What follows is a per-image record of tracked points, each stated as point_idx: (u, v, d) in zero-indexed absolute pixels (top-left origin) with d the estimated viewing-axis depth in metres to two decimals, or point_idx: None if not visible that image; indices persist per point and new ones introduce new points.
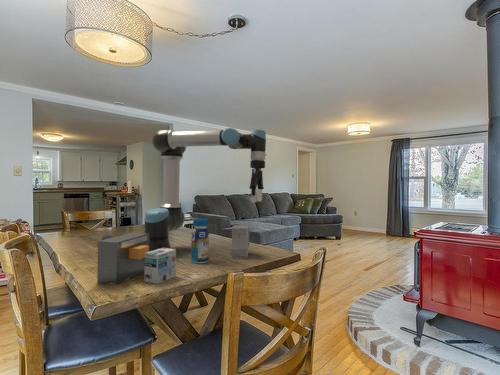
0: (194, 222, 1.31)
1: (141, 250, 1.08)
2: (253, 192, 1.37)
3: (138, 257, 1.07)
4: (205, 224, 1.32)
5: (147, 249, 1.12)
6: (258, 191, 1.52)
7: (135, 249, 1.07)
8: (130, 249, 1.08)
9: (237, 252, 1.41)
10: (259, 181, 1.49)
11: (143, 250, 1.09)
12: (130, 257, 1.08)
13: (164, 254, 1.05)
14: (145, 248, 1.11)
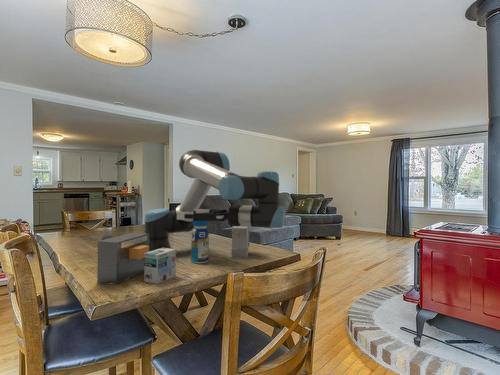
0: (194, 222, 1.31)
1: (141, 250, 1.08)
2: (188, 217, 0.97)
3: (138, 257, 1.07)
4: (205, 224, 1.32)
5: (147, 249, 1.12)
6: (205, 211, 1.11)
7: (135, 249, 1.07)
8: (130, 249, 1.08)
9: (237, 252, 1.41)
10: None
11: (143, 250, 1.09)
12: (130, 257, 1.08)
13: (164, 254, 1.05)
14: (145, 248, 1.11)
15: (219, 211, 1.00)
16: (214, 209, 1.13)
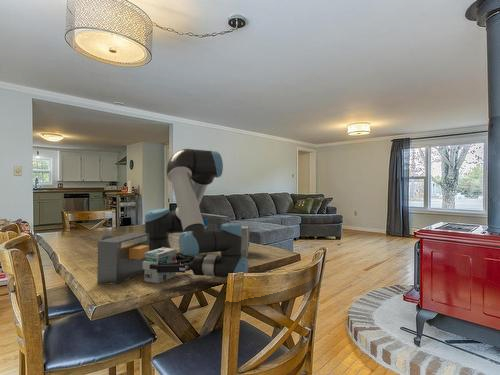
0: None
1: (141, 250, 1.08)
2: (152, 267, 1.01)
3: (138, 257, 1.07)
4: (205, 224, 1.32)
5: (147, 249, 1.12)
6: None
7: (135, 249, 1.07)
8: (130, 249, 1.08)
9: None
10: None
11: (143, 250, 1.09)
12: (130, 257, 1.08)
13: (164, 254, 1.05)
14: (145, 248, 1.11)
15: (184, 261, 1.03)
16: (181, 254, 1.15)
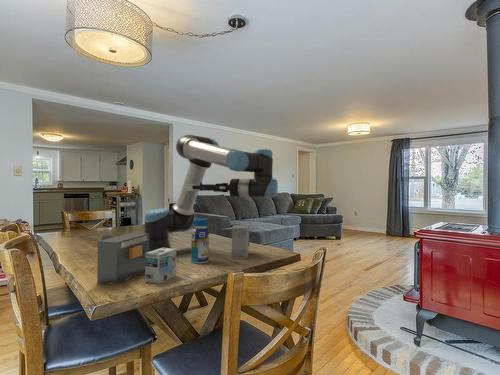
0: (194, 222, 1.31)
1: (133, 250, 1.08)
2: (195, 187, 1.14)
3: (131, 256, 1.08)
4: (205, 224, 1.32)
5: (140, 249, 1.13)
6: None
7: None
8: None
9: (237, 252, 1.41)
10: None
11: (136, 249, 1.10)
12: None
13: (165, 254, 1.06)
14: (138, 248, 1.11)
15: (222, 183, 1.18)
16: None
